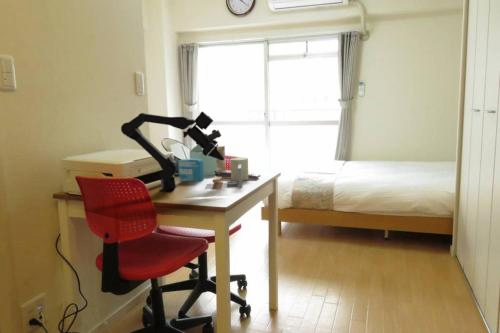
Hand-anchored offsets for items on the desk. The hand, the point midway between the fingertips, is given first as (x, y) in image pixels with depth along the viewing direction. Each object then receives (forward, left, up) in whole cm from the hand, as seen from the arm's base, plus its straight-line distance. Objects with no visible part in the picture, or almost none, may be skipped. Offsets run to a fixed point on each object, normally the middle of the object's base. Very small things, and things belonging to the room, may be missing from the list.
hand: (223, 159), depth 181 cm
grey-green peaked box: (-33, +18, -14) cm, 40 cm away
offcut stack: (-3, -2, -13) cm, 13 cm away
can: (-4, +16, -14) cm, 22 cm away
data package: (-25, +2, -14) cm, 29 cm away
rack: (0, 0, -14) cm, 14 cm away
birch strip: (-1, -1, -6) cm, 6 cm away
